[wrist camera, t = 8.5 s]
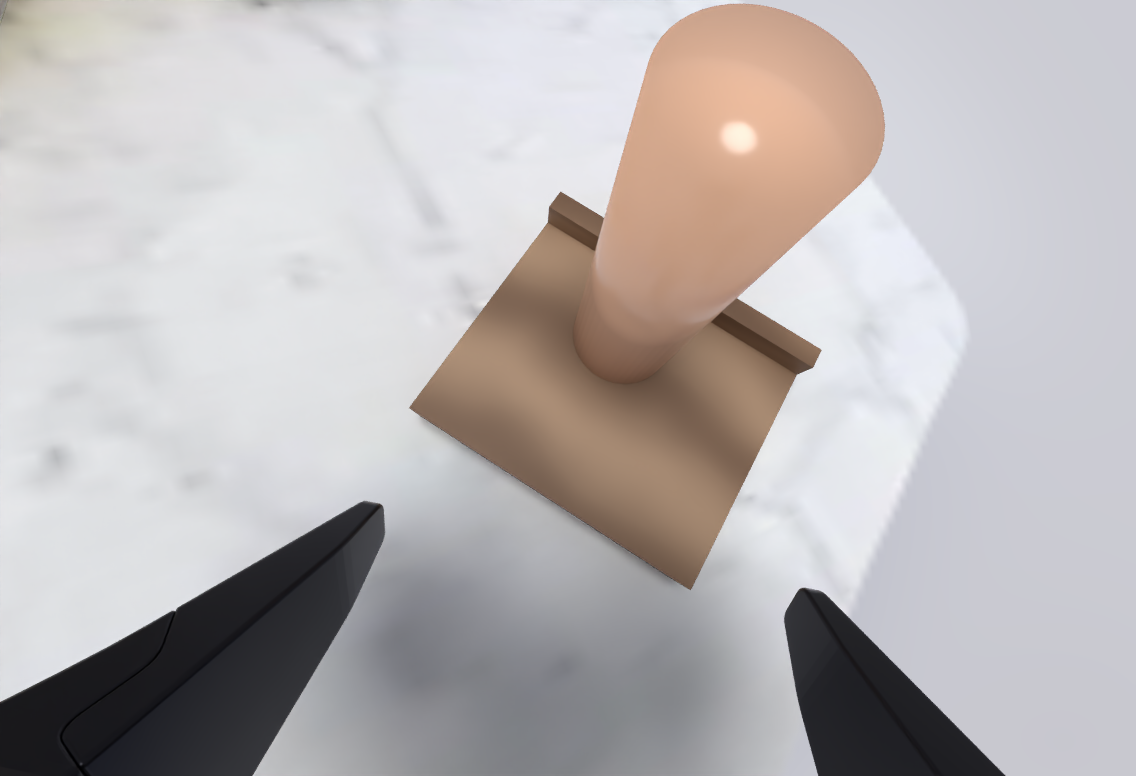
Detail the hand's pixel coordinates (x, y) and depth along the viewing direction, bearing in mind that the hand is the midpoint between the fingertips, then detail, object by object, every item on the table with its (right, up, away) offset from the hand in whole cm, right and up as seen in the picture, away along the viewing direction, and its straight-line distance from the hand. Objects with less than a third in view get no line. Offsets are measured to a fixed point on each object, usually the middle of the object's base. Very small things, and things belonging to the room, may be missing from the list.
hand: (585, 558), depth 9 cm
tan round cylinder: (+2, +6, +11) cm, 13 cm away
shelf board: (+2, +4, +12) cm, 13 cm away
